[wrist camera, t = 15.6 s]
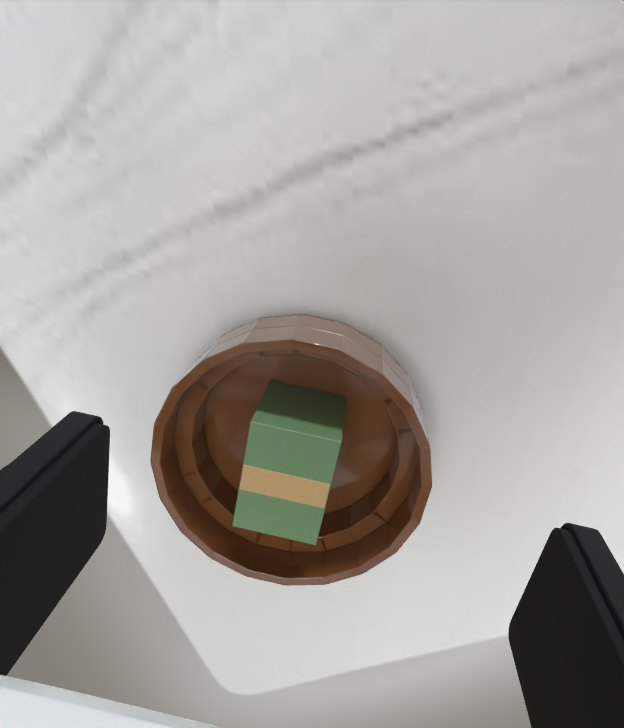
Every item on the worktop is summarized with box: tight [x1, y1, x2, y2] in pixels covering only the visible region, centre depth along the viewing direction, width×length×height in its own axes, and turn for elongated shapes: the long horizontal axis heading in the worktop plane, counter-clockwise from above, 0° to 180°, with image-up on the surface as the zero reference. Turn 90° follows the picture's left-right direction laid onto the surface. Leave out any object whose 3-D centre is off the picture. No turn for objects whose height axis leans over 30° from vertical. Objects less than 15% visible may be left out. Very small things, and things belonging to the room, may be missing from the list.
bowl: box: [150, 315, 432, 585], centre depth 33 cm, size 16×16×6 cm
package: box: [233, 380, 346, 545], centre depth 32 cm, size 5×7×6 cm
